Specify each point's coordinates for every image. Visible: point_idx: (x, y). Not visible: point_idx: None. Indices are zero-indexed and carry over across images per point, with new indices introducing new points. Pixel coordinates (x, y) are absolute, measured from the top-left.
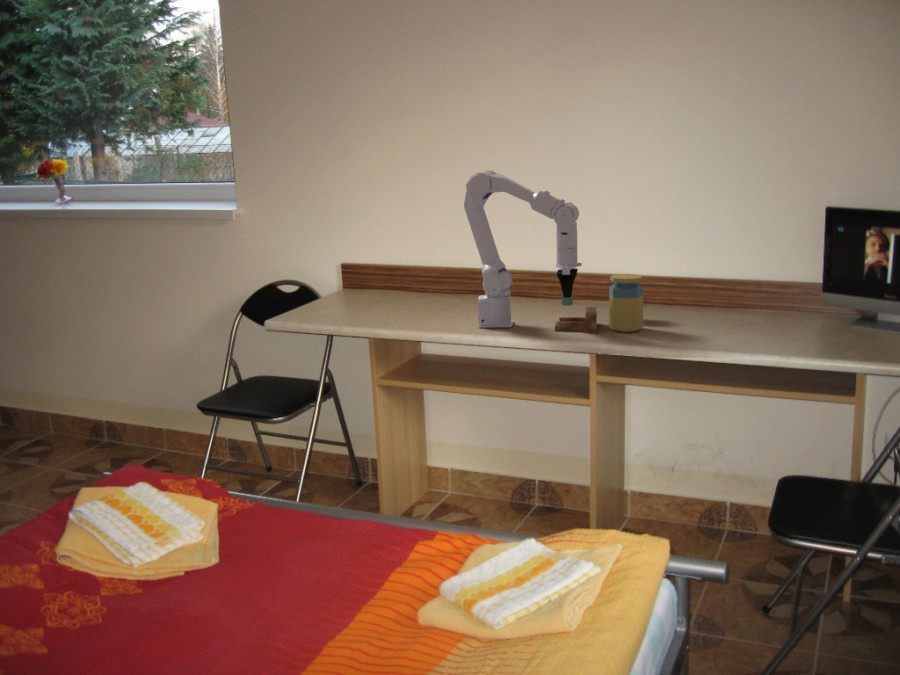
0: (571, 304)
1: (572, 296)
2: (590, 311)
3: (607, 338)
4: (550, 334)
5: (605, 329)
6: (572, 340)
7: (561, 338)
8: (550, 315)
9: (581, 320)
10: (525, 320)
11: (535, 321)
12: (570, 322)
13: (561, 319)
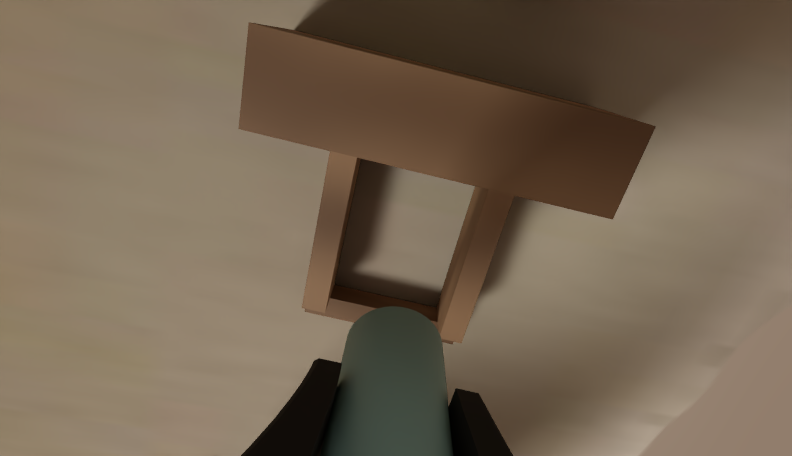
0: (433, 327)
1: (418, 364)
2: (449, 135)
3: (781, 69)
4: (523, 362)
5: (507, 11)
6: (713, 289)
7: (638, 331)
8: (28, 274)
9: (355, 168)
10: (164, 409)
11: (192, 373)
12: (484, 277)
13: (329, 295)
